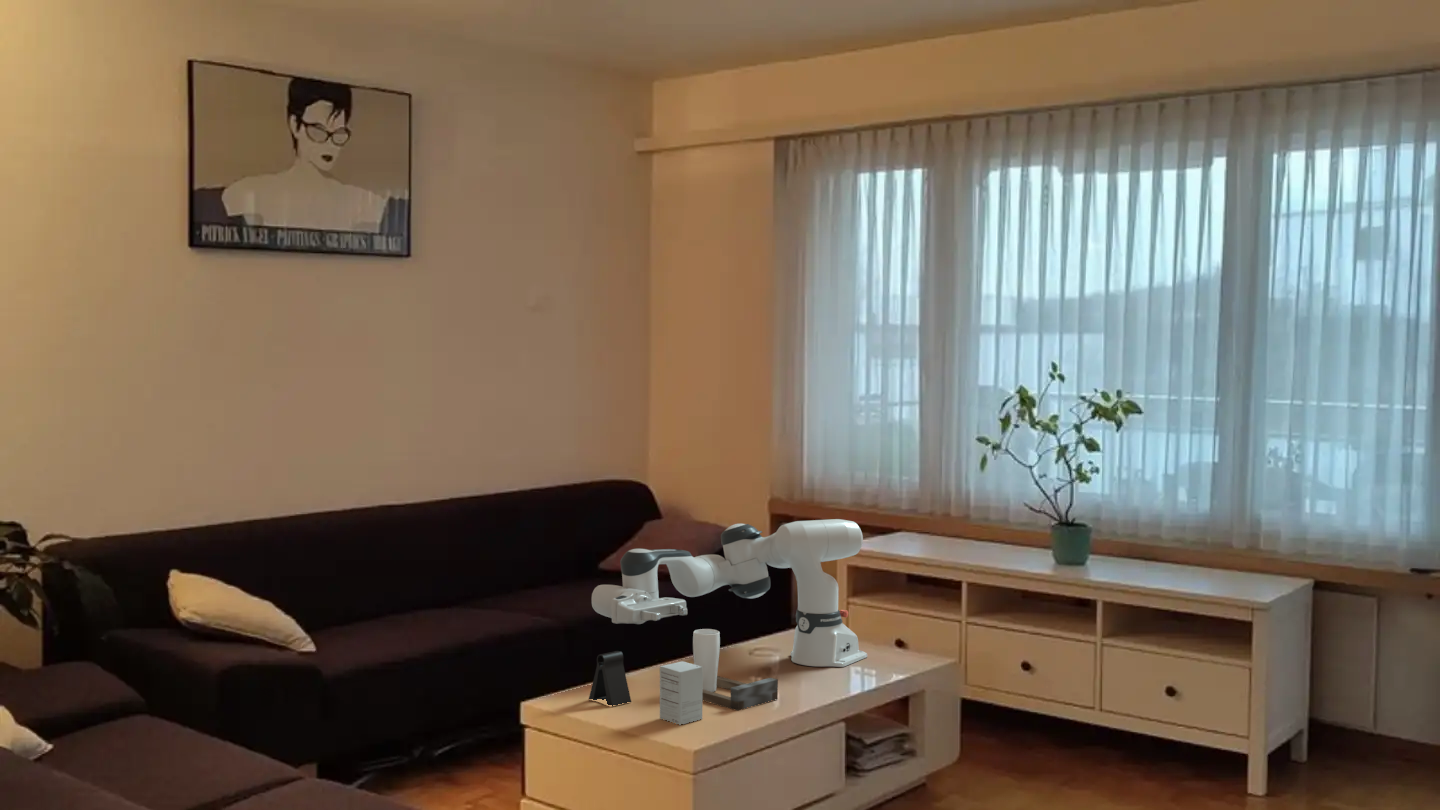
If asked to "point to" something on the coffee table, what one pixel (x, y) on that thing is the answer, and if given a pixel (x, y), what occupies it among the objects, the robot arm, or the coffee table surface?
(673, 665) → the supplement box
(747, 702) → the guide track
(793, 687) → the coffee table surface
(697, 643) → the drinking glass
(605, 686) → the phone stand
